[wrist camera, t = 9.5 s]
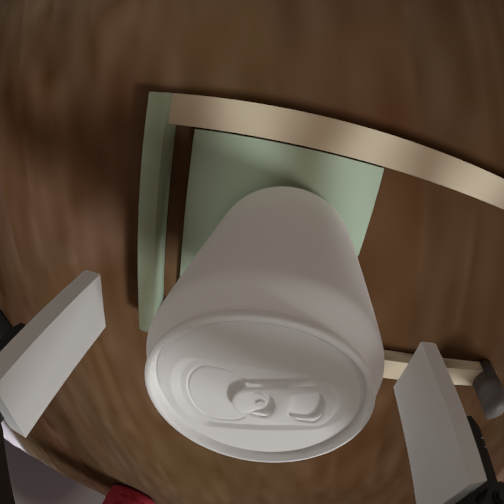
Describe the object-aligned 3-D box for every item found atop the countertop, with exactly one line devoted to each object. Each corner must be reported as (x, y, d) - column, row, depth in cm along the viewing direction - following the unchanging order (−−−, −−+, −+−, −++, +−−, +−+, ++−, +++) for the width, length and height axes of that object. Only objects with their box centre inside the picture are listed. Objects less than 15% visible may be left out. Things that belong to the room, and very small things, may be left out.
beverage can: (214, 183, 19) (99, 286, 8) (354, 185, 17) (425, 302, 7) (223, 301, 22) (161, 451, 11) (343, 306, 21) (360, 469, 10)
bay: (149, 319, 24) (121, 360, 20) (163, 88, 17) (119, 83, 12) (481, 379, 22) (498, 418, 18) (567, 209, 15) (606, 233, 10)
